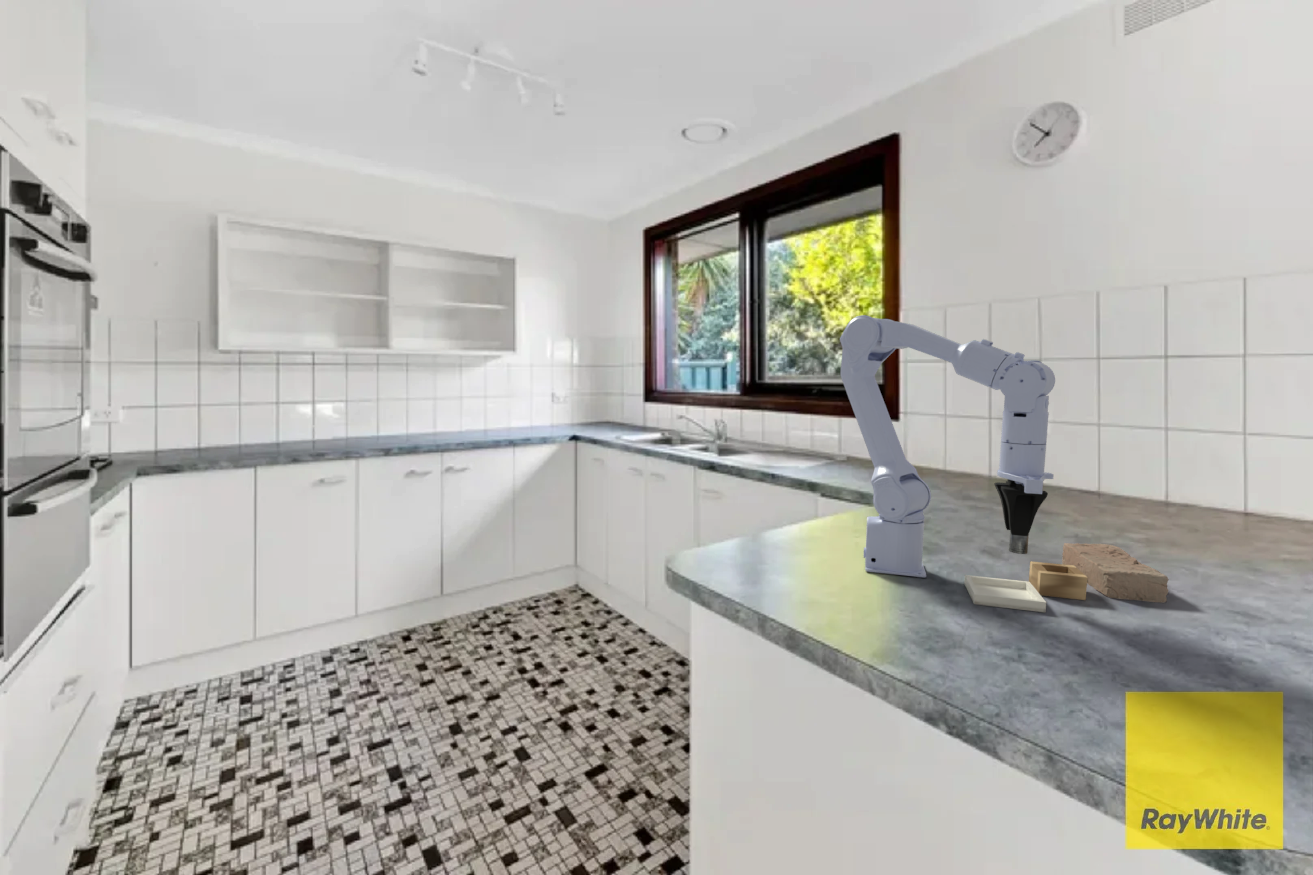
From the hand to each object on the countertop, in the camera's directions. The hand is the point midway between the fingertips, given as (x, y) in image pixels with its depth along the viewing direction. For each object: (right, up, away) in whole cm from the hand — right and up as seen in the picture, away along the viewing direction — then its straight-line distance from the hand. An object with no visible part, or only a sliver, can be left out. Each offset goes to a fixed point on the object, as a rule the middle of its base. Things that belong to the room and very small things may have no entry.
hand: (1016, 532), depth 88 cm
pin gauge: (0, -3, 0) cm, 3 cm away
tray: (-2, -10, 0) cm, 10 cm away
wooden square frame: (+8, -10, +3) cm, 13 cm away
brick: (+20, -10, +7) cm, 23 cm away
